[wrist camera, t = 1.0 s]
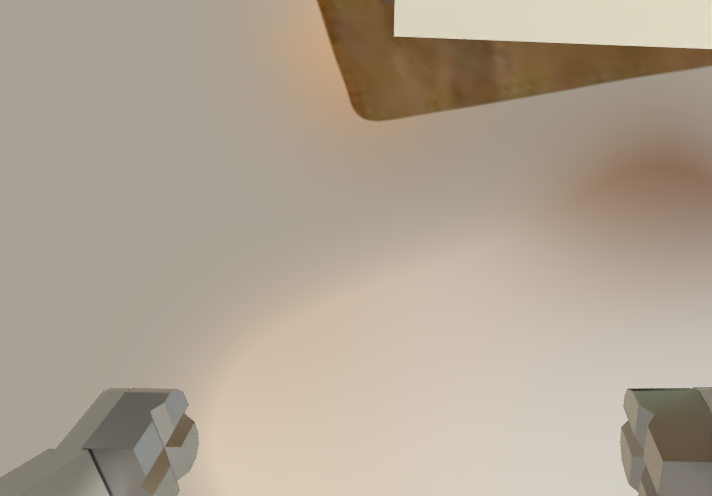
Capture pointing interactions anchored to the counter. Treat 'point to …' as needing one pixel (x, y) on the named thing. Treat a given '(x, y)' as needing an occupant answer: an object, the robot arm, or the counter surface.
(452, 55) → the counter surface
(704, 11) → the cream bar
